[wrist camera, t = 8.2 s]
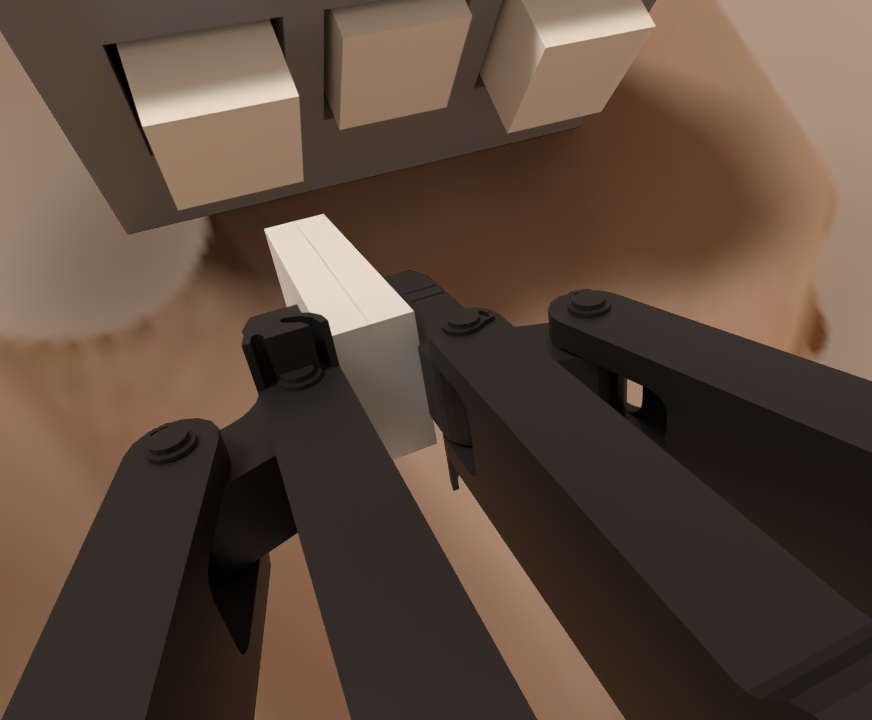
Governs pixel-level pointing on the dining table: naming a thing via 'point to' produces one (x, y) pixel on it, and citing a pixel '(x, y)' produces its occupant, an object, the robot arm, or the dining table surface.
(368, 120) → the key middle
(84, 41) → the keypad
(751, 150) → the dining table surface
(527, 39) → the key
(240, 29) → the key
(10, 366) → the dining table surface
